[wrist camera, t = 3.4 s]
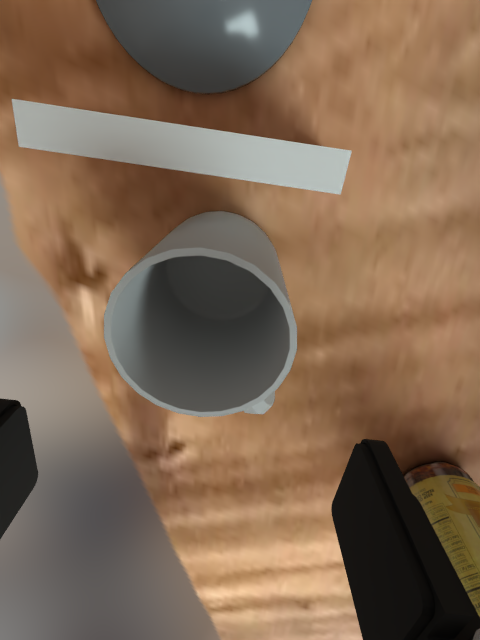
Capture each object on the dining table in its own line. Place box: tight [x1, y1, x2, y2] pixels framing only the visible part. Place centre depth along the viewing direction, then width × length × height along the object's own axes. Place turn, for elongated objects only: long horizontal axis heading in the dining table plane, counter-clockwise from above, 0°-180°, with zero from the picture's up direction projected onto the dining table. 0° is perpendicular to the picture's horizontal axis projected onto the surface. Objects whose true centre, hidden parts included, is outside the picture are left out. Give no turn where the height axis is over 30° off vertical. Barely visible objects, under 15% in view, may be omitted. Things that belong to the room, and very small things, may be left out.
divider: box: [12, 99, 352, 194], centre depth 15 cm, size 2×13×5 cm, turn 82°
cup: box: [104, 211, 297, 417], centre depth 17 cm, size 7×10×9 cm
